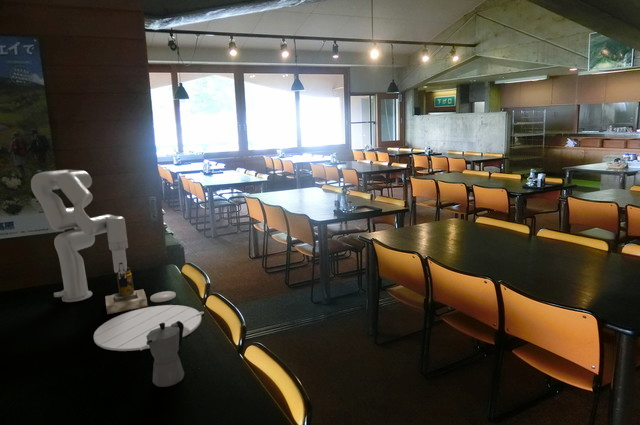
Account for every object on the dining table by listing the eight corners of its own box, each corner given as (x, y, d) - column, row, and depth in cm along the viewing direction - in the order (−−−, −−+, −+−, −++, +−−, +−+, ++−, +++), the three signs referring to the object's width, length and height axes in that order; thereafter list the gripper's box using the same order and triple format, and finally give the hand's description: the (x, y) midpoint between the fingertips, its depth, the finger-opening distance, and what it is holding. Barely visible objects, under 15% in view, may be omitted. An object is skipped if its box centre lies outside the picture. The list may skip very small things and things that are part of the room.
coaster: (152, 304, 200) (151, 301, 200) (149, 296, 209) (148, 294, 209) (177, 298, 204) (177, 296, 204) (173, 291, 214) (173, 289, 214)
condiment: (136, 294, 199) (132, 268, 197) (115, 299, 194) (111, 272, 192) (133, 290, 205) (129, 265, 203) (113, 295, 200) (109, 268, 198)
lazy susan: (223, 314, 185) (222, 306, 184) (151, 360, 150) (150, 350, 150) (150, 303, 202) (149, 295, 201) (70, 341, 167) (68, 333, 166)
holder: (107, 314, 191) (106, 306, 190) (106, 303, 203) (105, 296, 202) (147, 306, 198) (146, 298, 197) (144, 296, 210) (143, 289, 209)
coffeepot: (166, 393, 129) (159, 334, 126) (140, 388, 133) (133, 330, 130) (199, 366, 144) (193, 313, 140) (175, 362, 147) (169, 310, 144)
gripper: (108, 242, 201) (113, 280, 205) (109, 250, 186) (114, 292, 190) (126, 239, 205) (130, 277, 208) (129, 248, 189) (133, 289, 193)
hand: (123, 284), depth 199 cm, fingers closed on condiment, 6 cm apart
